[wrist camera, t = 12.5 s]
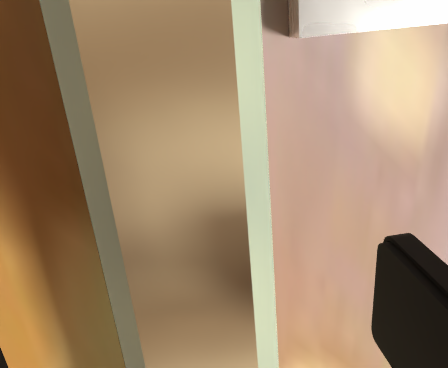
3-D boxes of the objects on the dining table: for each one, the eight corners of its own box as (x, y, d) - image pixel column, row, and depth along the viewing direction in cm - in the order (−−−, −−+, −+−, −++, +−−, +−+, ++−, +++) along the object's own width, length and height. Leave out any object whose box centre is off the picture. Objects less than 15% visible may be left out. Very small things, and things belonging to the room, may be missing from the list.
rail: (72, -140, 10) (19, -236, 6) (194, -147, 10) (213, -242, 7) (184, 464, 18) (189, 577, 14) (250, 451, 18) (272, 558, 15)
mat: (10, -148, 10) (2, -157, 10) (247, -160, 11) (251, -170, 10) (152, 466, 19) (152, 480, 18) (279, 441, 19) (282, 453, 19)
